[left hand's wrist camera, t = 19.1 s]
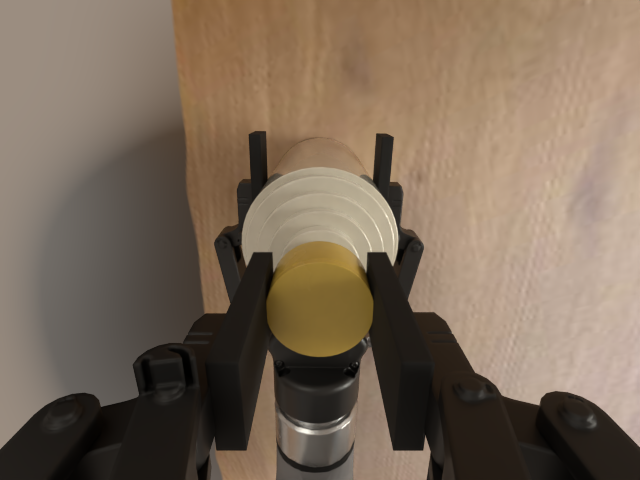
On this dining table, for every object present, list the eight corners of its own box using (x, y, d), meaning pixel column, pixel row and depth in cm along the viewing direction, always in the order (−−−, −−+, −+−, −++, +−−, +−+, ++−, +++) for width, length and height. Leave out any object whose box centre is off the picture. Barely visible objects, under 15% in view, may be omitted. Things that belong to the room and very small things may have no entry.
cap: (358, 231, 14) (364, 251, 12) (374, 315, 15) (382, 347, 13) (261, 251, 14) (251, 274, 12) (285, 332, 16) (280, 365, 14)
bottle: (265, 212, 34) (191, 361, 14) (288, 125, 31) (237, 165, 12) (347, 236, 34) (383, 408, 15) (377, 154, 32) (467, 235, 12)
